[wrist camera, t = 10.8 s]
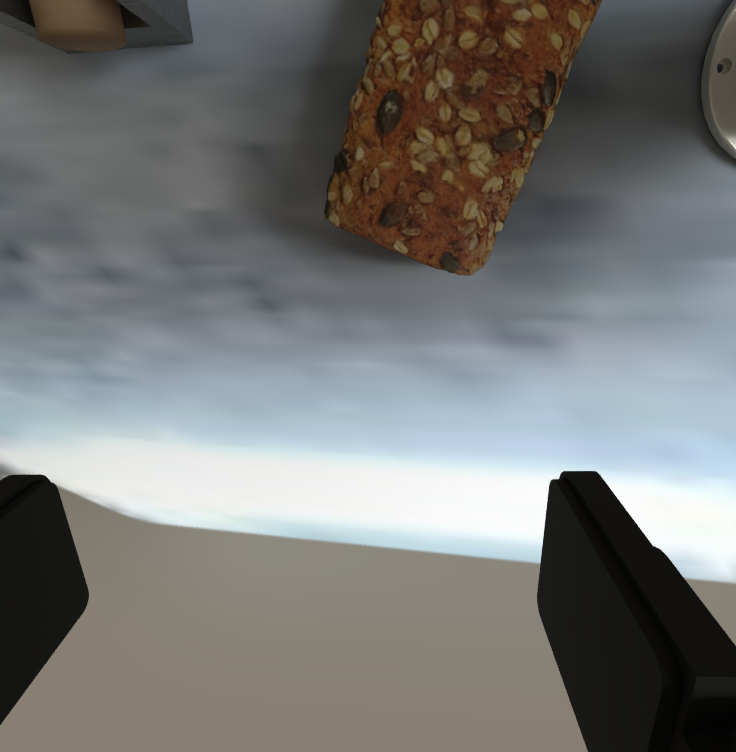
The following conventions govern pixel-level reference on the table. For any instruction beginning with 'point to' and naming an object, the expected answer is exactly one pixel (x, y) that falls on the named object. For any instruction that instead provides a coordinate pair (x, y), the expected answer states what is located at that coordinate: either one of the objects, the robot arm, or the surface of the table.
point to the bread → (451, 122)
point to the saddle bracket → (139, 15)
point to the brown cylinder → (79, 24)
